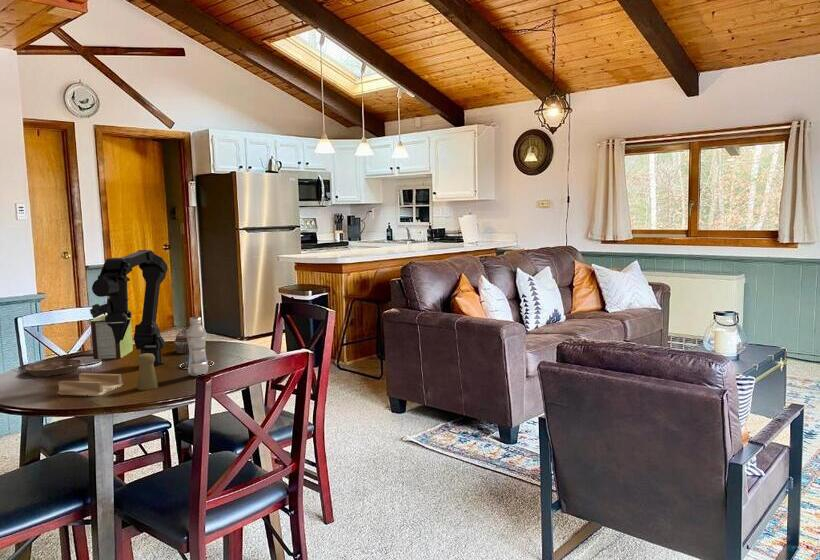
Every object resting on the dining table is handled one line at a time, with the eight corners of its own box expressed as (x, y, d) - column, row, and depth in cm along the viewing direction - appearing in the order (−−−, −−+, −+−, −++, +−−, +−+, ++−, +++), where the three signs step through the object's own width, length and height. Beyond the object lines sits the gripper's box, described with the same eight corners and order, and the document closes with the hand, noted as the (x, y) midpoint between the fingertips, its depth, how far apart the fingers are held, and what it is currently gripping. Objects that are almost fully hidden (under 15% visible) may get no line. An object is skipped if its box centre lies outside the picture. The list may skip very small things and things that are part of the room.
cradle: (84, 384, 201) (83, 372, 201) (123, 385, 199) (122, 373, 198) (57, 394, 189) (56, 382, 189) (98, 395, 187) (97, 383, 187)
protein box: (133, 350, 253) (130, 313, 251) (121, 358, 238) (118, 319, 236) (106, 351, 251) (104, 314, 250) (92, 360, 236) (89, 320, 235)
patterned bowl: (220, 363, 228) (220, 349, 228) (201, 371, 217) (200, 356, 216) (193, 361, 231) (192, 348, 231) (172, 369, 220) (171, 355, 219)
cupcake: (181, 349, 254) (180, 325, 252) (203, 349, 253) (202, 325, 252) (170, 354, 244) (168, 329, 243) (193, 354, 243) (192, 329, 242)
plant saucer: (29, 369, 224) (28, 361, 223) (84, 364, 231) (83, 356, 231) (21, 381, 208) (20, 372, 207) (80, 374, 215) (79, 366, 215)
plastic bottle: (212, 373, 211) (209, 316, 209) (200, 378, 205) (196, 319, 203) (197, 372, 214) (194, 315, 212) (184, 377, 207) (180, 319, 205)
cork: (150, 390, 192) (148, 356, 191) (133, 389, 193) (131, 355, 192) (162, 385, 198) (160, 351, 197) (145, 384, 199) (143, 351, 198)
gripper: (95, 294, 211) (96, 339, 211) (86, 297, 193) (87, 346, 194) (131, 293, 215) (132, 338, 215) (125, 296, 197) (126, 344, 197)
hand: (119, 341), depth 205 cm, fingers open, 9 cm apart
